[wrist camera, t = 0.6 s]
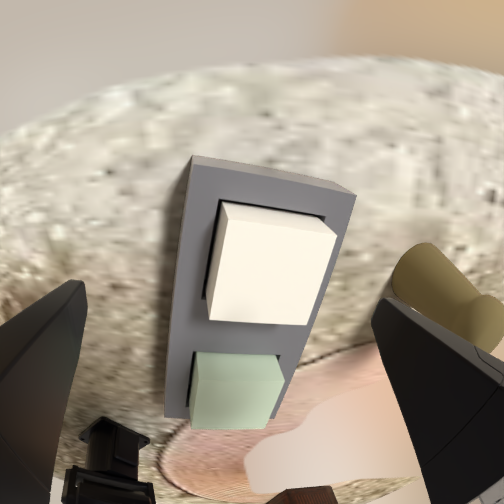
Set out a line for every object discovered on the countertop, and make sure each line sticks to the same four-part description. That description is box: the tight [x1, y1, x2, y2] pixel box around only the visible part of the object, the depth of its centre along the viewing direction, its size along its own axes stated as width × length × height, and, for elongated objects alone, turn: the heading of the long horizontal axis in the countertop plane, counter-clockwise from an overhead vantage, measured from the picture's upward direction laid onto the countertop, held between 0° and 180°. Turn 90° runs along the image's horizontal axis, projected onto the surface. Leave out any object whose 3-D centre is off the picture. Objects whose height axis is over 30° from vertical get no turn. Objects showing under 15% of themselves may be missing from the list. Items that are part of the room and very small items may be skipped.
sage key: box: [189, 351, 285, 430], centre depth 23 cm, size 6×6×3 cm
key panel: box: [164, 155, 357, 419], centre depth 24 cm, size 21×10×4 cm, turn 167°
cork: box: [392, 243, 504, 353], centre depth 23 cm, size 6×6×11 cm
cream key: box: [205, 201, 337, 325], centre depth 19 cm, size 6×6×3 cm
